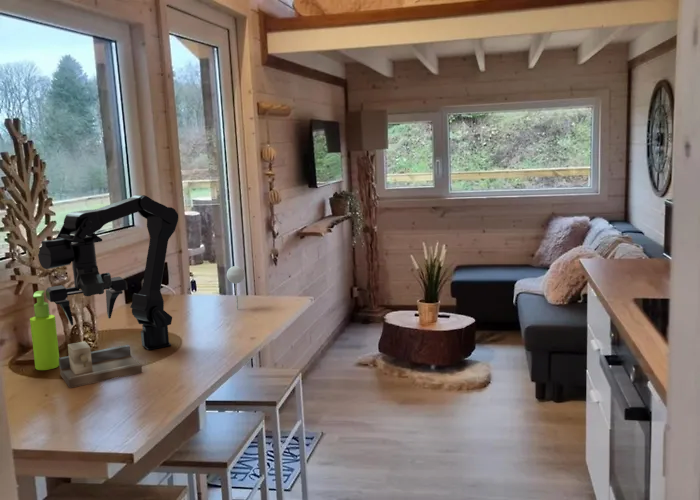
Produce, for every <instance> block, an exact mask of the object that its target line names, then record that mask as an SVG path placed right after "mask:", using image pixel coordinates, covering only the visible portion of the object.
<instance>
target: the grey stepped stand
mask: <svg viewBox="0 0 700 500" xmlns="http://www.w3.org/2000/svg"><path fill="white" fill-rule="evenodd" d="M91 360H92V370H93V371H89V372H84V373H79V374H75V373H74V372H73V371H72V370H71V368H70V362H69V355H68V356H62V357H59V365H60V366H59V372H60V373H59V374H60V377H61V378H62V379H63V381H64V382H65V384H66V385H67V386H68V388H70V389H71V388H76V387H80V386H85V385H90V384H94V383H95V384H96V383H98V382H99V383H100V382H105V381H109V380H114V379H119V378H123V377H128V376H132V375H136V374H137V375H138V374H141V373H143V368H142V366H143V365H142V364H141V363H140V362H139V361H138V360H137V359H135V357H133V356H132V355H131V346H130V345H129V344H125V345H121V346H120V345H119V346H115V347H114V346H113V347H108V348H104V349H99V350H93V351H91Z"/></svg>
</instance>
